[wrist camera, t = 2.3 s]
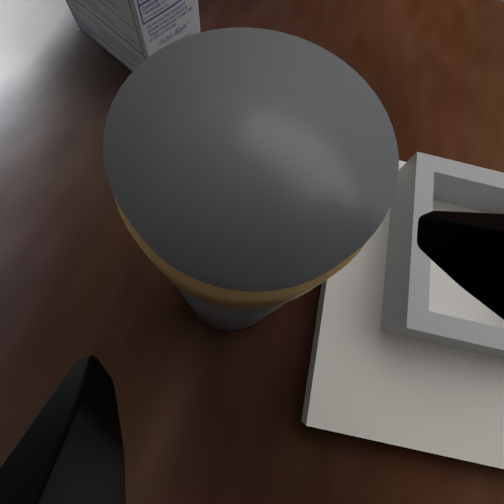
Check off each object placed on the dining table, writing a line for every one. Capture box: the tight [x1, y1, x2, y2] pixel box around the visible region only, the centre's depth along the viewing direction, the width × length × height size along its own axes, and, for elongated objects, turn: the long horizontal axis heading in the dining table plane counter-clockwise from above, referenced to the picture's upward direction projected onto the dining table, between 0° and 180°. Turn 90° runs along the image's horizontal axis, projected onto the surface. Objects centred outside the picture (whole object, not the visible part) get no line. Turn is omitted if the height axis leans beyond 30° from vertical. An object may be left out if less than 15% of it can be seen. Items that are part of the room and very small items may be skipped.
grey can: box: [103, 28, 399, 331], centre depth 12 cm, size 5×5×13 cm
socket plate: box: [301, 152, 504, 469], centre depth 17 cm, size 16×16×4 cm
